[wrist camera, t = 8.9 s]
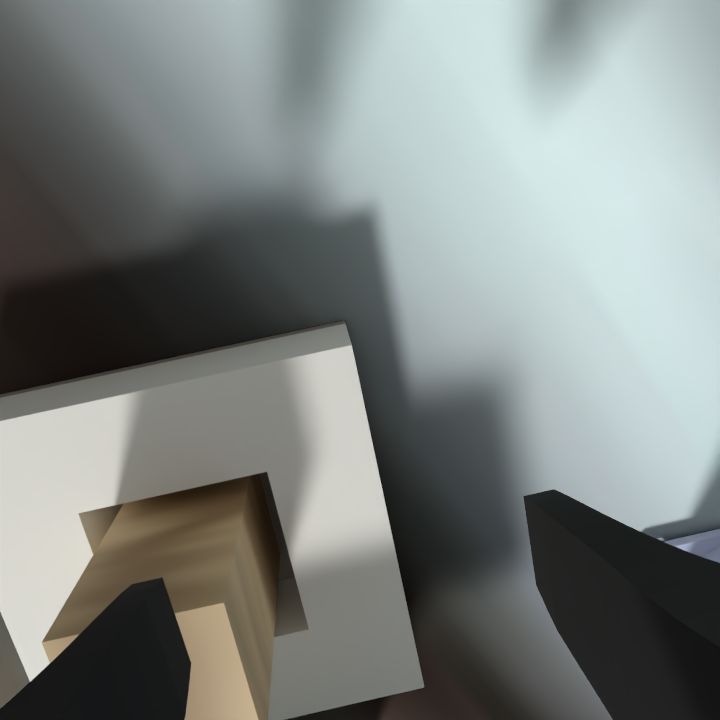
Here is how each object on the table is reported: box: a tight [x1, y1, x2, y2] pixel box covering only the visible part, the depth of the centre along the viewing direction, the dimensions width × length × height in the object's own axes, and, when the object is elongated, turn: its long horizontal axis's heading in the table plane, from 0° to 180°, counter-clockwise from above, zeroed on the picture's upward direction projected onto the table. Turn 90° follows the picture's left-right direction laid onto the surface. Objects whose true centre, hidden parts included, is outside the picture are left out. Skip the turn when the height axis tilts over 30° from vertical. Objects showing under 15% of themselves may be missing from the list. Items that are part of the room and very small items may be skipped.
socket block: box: [0, 320, 424, 720], centre depth 21 cm, size 12×12×4 cm
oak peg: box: [42, 474, 280, 720], centre depth 18 cm, size 4×4×8 cm
